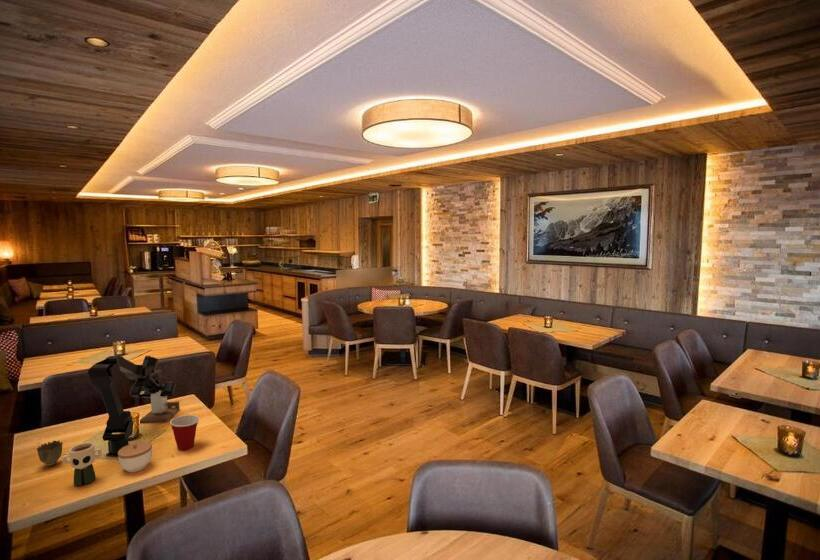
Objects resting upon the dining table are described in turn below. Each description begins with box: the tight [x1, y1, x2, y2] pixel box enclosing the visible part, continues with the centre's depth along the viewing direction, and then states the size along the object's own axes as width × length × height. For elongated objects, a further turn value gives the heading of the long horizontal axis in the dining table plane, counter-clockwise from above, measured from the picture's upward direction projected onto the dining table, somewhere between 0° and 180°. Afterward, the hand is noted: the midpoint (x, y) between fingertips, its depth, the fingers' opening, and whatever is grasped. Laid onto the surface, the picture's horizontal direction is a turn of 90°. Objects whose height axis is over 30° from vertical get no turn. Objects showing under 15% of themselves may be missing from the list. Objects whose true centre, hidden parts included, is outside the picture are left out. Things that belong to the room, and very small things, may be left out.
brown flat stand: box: [140, 401, 181, 425], centre depth 202 cm, size 14×12×5 cm
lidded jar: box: [117, 441, 153, 473], centre depth 157 cm, size 11×11×9 cm
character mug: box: [62, 441, 103, 486], centre depth 148 cm, size 11×7×13 cm, turn 119°
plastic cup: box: [169, 414, 200, 451], centre depth 172 cm, size 11×11×12 cm
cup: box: [36, 440, 63, 468], centre depth 160 cm, size 8×7×8 cm
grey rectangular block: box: [150, 390, 168, 413], centre depth 202 cm, size 5×5×12 cm
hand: (160, 396), depth 203 cm, fingers closed on grey rectangular block, 5 cm apart
